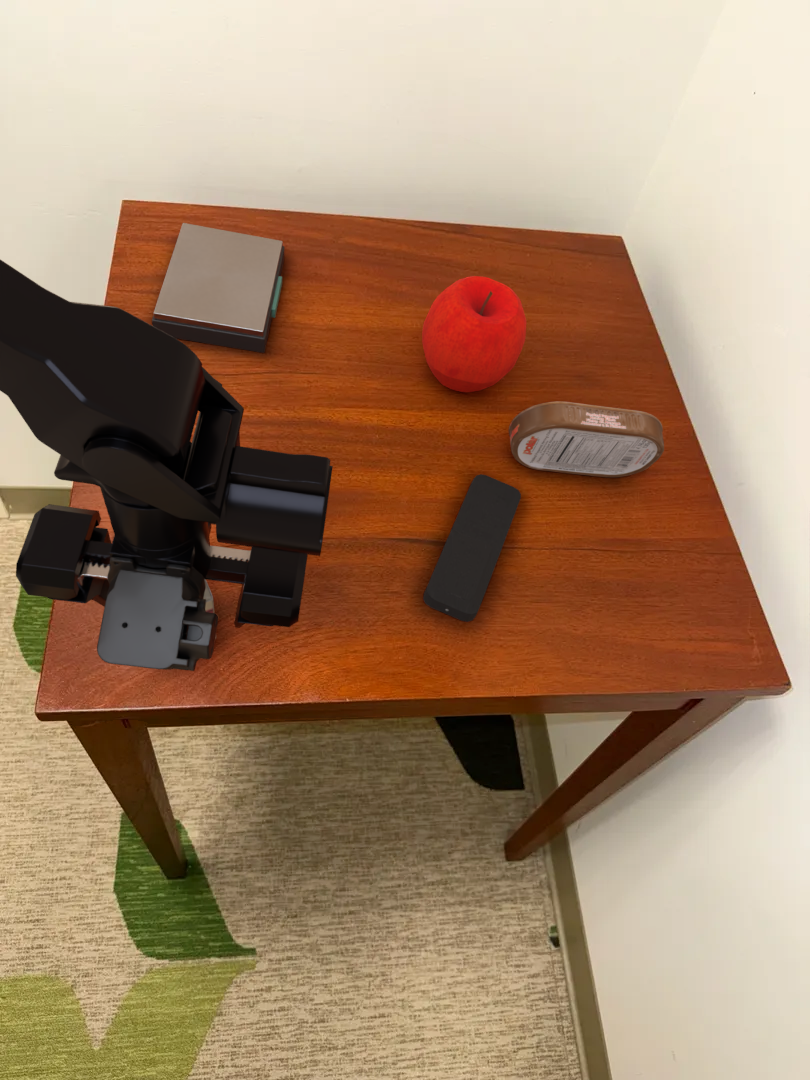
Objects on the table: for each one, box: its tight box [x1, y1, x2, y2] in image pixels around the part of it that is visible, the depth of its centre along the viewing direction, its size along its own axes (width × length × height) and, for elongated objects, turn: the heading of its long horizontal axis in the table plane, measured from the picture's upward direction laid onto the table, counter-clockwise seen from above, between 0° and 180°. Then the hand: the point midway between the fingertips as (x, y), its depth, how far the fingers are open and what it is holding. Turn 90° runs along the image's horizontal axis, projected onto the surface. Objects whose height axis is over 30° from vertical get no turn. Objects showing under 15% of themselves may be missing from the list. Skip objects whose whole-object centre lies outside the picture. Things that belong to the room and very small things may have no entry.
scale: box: [151, 222, 285, 354], centre depth 79 cm, size 11×14×3 cm
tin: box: [508, 400, 665, 479], centre depth 73 cm, size 15×3×8 cm, turn 90°
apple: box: [421, 275, 528, 393], centre depth 75 cm, size 10×10×12 cm
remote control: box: [422, 474, 522, 623], centre depth 70 cm, size 5×2×15 cm
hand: (179, 614), depth 60 cm, fingers open, 9 cm apart
